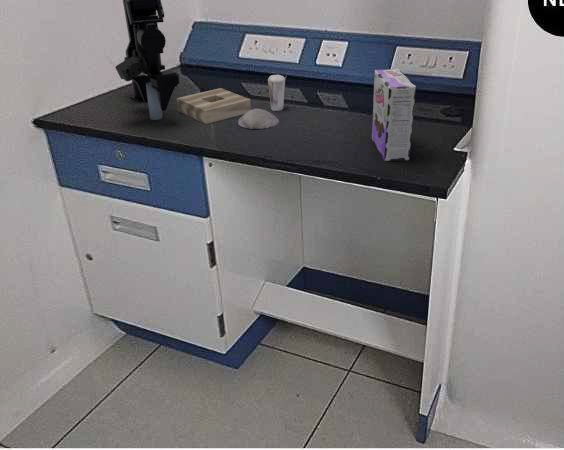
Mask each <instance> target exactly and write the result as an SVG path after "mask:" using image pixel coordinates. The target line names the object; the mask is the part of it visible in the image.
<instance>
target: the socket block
mask: <svg viewBox="0 0 564 450" xmlns="http://www.w3.org/2000/svg"><path fill="white" fill-rule="evenodd" d="M251 106H252V105H251V99H250V98H248V97H246V96H243V95H240V94H237V93H235V92H232V91H229V90H226V89H225V88H222V87H220V88H214V89H211V90H206V91H203V92H202V91H201V92H198V93H193V94H189V95H185V96H184V95H183V96H182V97H181V96H179V97H177V98H176V108H177V112H178V113H181V114H183V115H184V116H185V115H186V116H187V117H189V118H192V119H194V120H196V121H198V122H200V123H203V124H205V125H207V124H208V125H209V124H211V123H216V122H219V121H223V120H228V119H230V118H234V117H238V116H243V115H244V114H245V113H246V112H248V111H250V110H252V107H251Z"/></svg>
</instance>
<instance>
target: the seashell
mask: <svg viewBox="0 0 564 450" xmlns="http://www.w3.org/2000/svg"><path fill="white" fill-rule="evenodd" d="M237 122H238V123H237V125H238V126H239V127H240V128H244V129H245V128H246V129H250V130H256V129H257V130H258V129H259V130H263V129H269V128H274V127H276V126H278V125H279V124H280V120H279V119H278V117H276V116H275V115H274V114H273V113H272V112H269V111H267V110H265V109H262V108H253V109H251V110H250V111H248V112H246V113H245V114H242V115H241V117H239V119H238V120H237Z"/></svg>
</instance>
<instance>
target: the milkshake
mask: <svg viewBox="0 0 564 450" xmlns="http://www.w3.org/2000/svg"><path fill="white" fill-rule="evenodd" d="M288 73H289V72H287V73H286V75H285V77H284V75H280V74H272V75H270V76H269V77H268V79H267V85H268V92H269V100H270V109H271V111H273V112H280V111H283V110H284V105H285V103H284V100H285V87H286V78H287V75H288Z"/></svg>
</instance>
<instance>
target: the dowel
mask: <svg viewBox="0 0 564 450" xmlns="http://www.w3.org/2000/svg"><path fill="white" fill-rule="evenodd" d="M151 86H152V84H151V82H149V83H147V84H146V89H147V97H148V102H147V103H148V104H147V105H148V111H149V112H148V113H149V119H150V120H152V121H159V120H162V119H163V111H162V110H161V107H160V103H159V99H158V95H157V91H156V90H154V89H153V88H152V87H151Z"/></svg>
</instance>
